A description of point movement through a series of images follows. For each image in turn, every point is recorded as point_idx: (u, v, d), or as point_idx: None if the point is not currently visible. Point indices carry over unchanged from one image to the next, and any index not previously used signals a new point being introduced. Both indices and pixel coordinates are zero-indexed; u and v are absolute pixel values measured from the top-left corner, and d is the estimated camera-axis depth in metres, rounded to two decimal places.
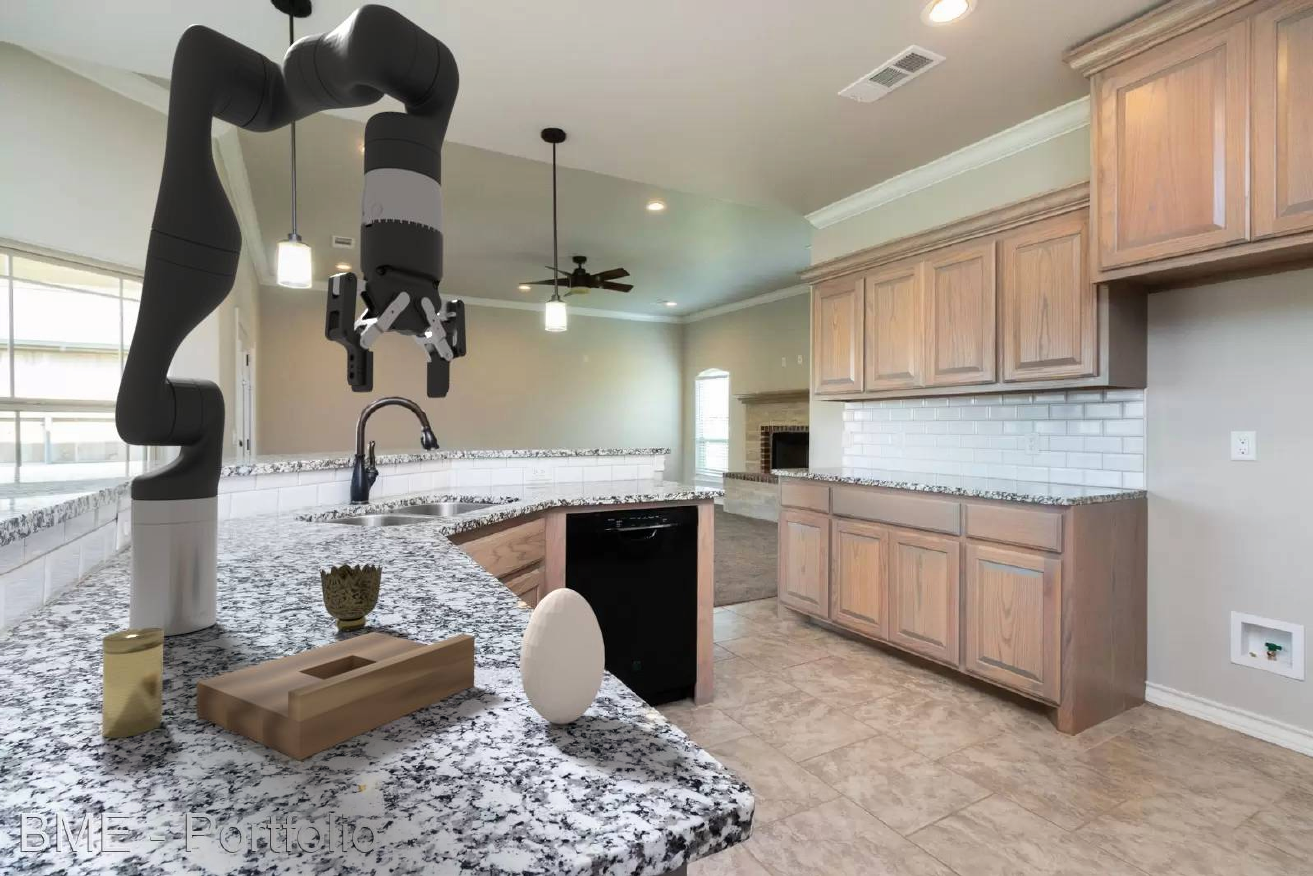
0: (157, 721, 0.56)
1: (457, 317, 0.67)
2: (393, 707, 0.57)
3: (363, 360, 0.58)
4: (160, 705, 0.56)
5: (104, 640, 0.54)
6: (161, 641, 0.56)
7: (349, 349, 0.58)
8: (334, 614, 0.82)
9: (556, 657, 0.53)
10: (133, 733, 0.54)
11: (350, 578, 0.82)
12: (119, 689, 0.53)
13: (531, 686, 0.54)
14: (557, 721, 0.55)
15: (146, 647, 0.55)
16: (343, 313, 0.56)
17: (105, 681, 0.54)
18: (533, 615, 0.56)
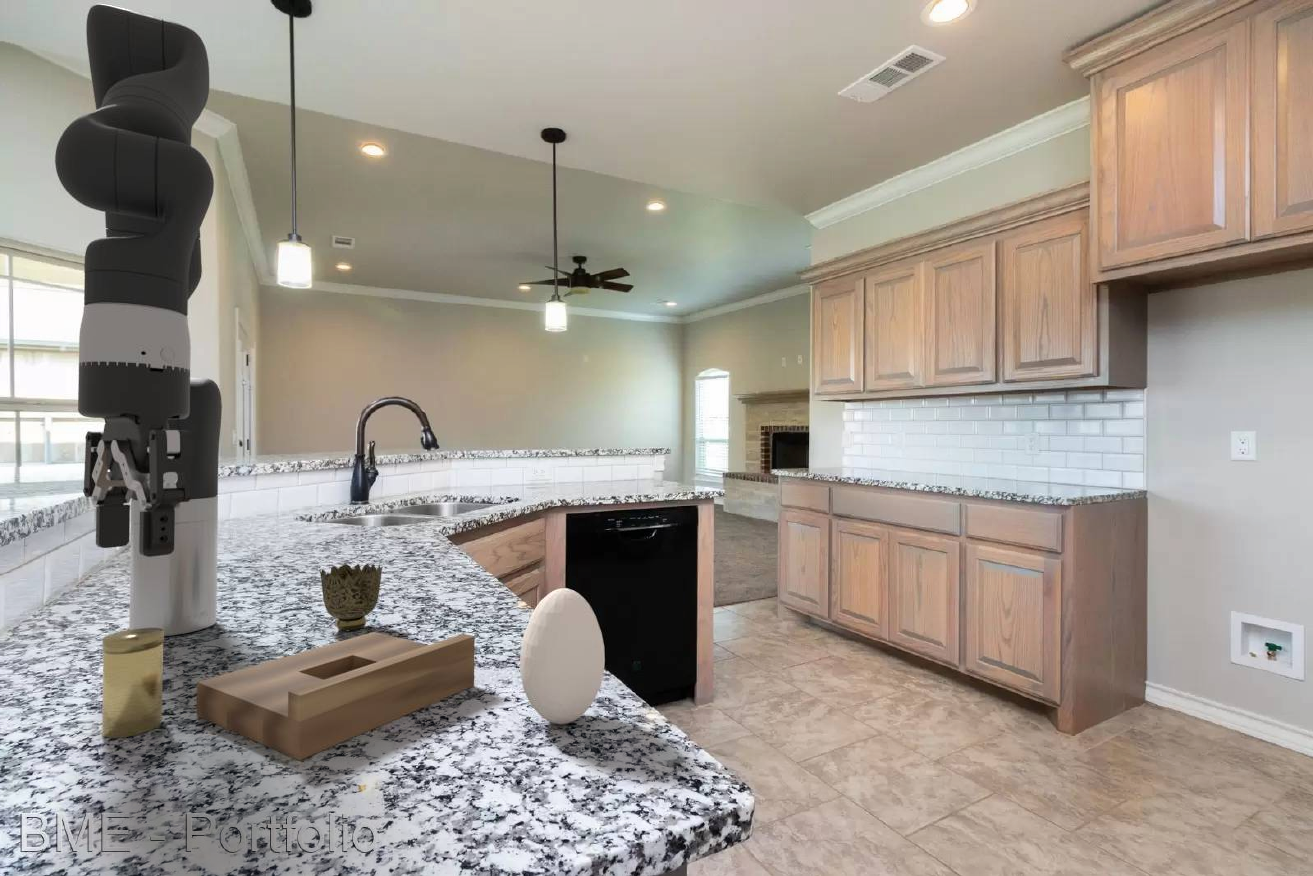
0: (157, 721, 0.56)
1: None
2: (393, 707, 0.57)
3: None
4: (160, 705, 0.56)
5: (104, 640, 0.54)
6: (161, 641, 0.56)
7: (160, 510, 0.53)
8: (334, 614, 0.82)
9: (556, 657, 0.53)
10: (133, 733, 0.54)
11: (350, 578, 0.82)
12: (119, 689, 0.53)
13: (531, 686, 0.54)
14: (557, 721, 0.55)
15: (146, 647, 0.55)
16: (189, 475, 0.53)
17: (105, 681, 0.54)
18: (533, 615, 0.56)
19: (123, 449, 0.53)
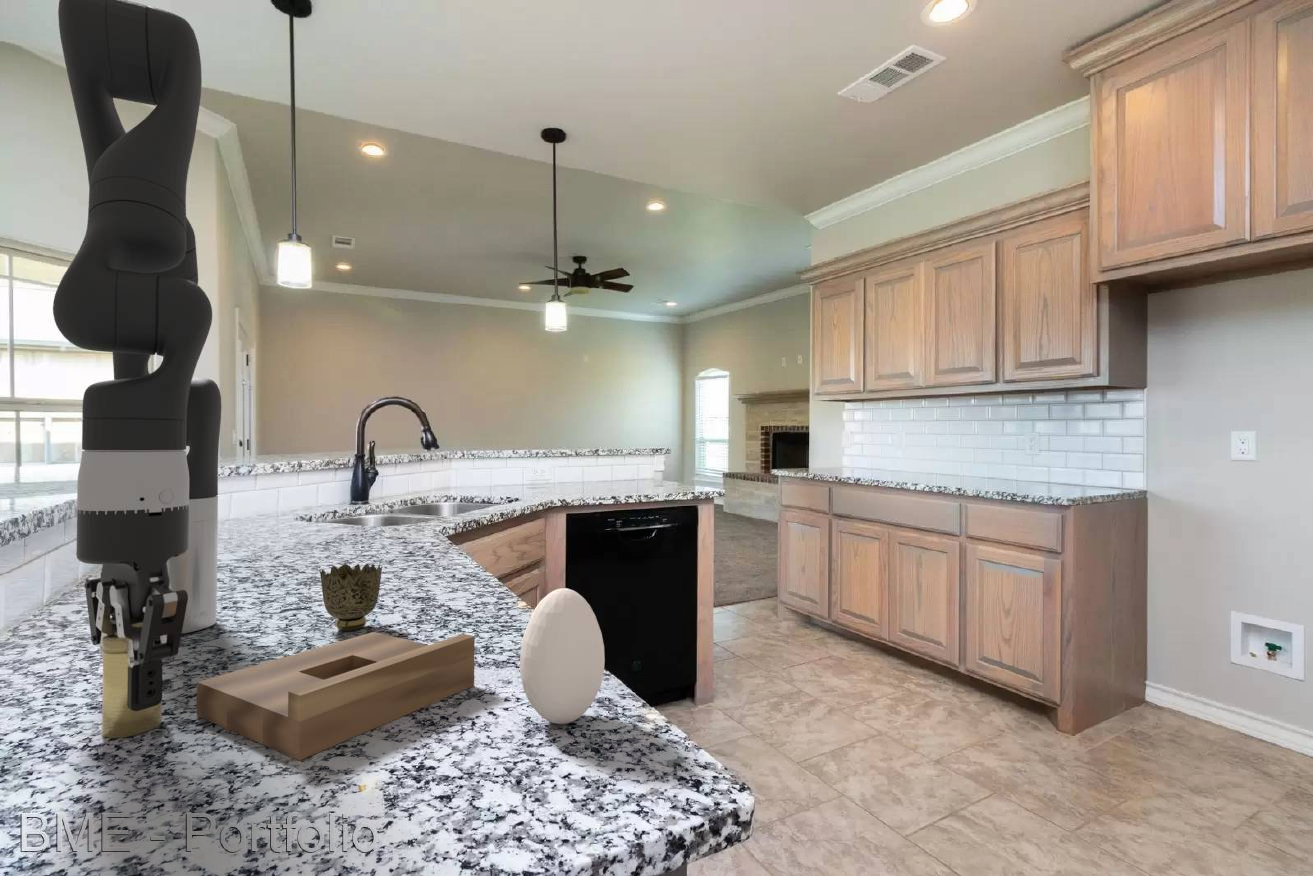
0: (157, 721, 0.56)
1: None
2: (393, 707, 0.57)
3: None
4: (160, 705, 0.56)
5: (104, 640, 0.54)
6: None
7: (148, 665, 0.53)
8: (334, 614, 0.82)
9: (556, 657, 0.53)
10: (133, 733, 0.54)
11: (350, 578, 0.82)
12: (119, 689, 0.53)
13: (531, 686, 0.54)
14: (557, 721, 0.55)
15: None
16: (179, 634, 0.54)
17: (105, 681, 0.54)
18: (533, 615, 0.56)
19: (121, 599, 0.53)
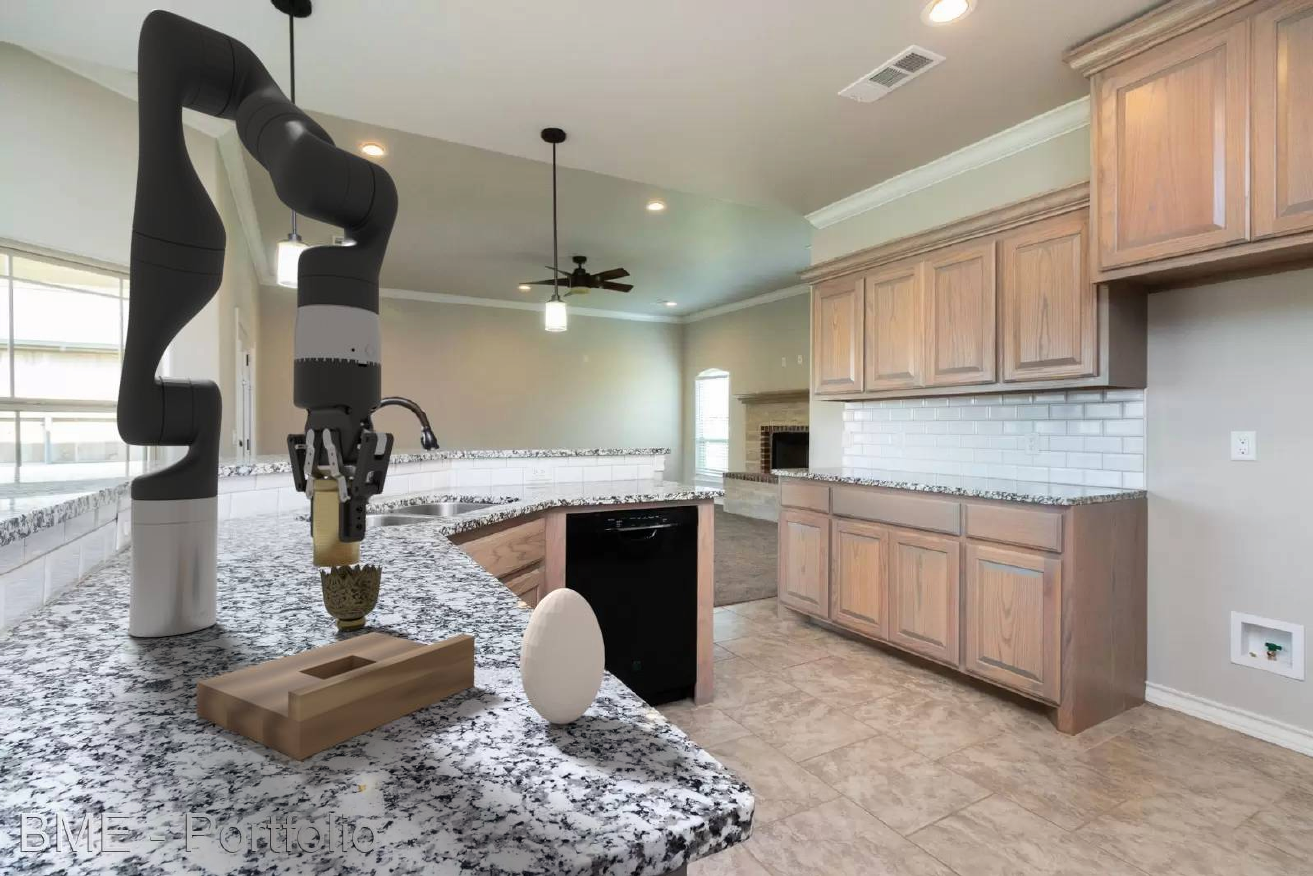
0: (358, 558, 0.61)
1: None
2: (393, 707, 0.57)
3: None
4: (359, 544, 0.62)
5: (316, 479, 0.59)
6: None
7: (357, 501, 0.59)
8: (334, 614, 0.82)
9: (556, 657, 0.53)
10: (342, 564, 0.59)
11: (350, 578, 0.82)
12: (331, 523, 0.59)
13: (531, 686, 0.54)
14: (557, 721, 0.55)
15: None
16: (385, 474, 0.59)
17: (317, 516, 0.59)
18: (533, 615, 0.56)
19: (334, 441, 0.59)
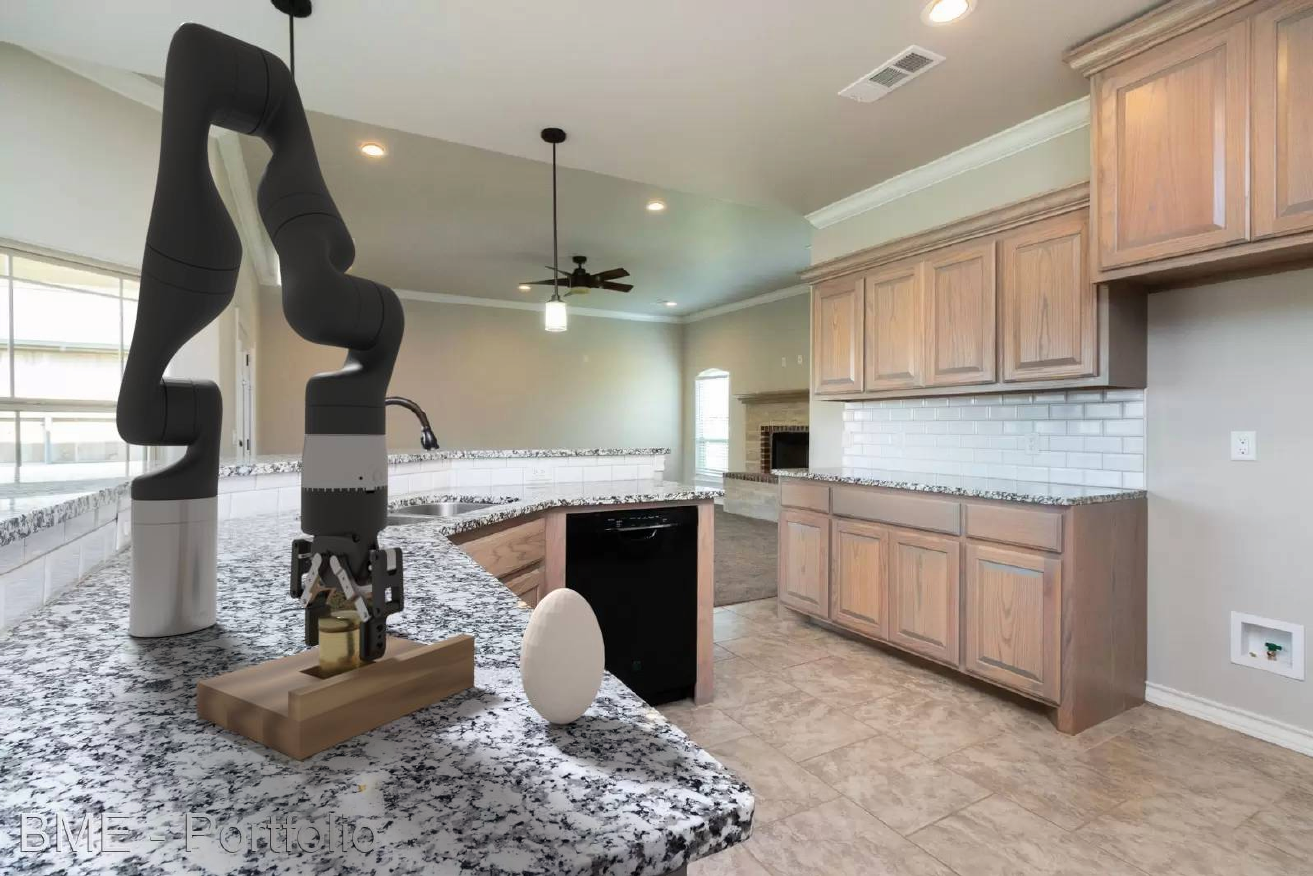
0: None
1: None
2: (393, 707, 0.57)
3: None
4: None
5: (321, 620, 0.60)
6: None
7: (378, 620, 0.59)
8: None
9: (556, 657, 0.53)
10: None
11: None
12: (336, 665, 0.60)
13: (531, 686, 0.54)
14: (557, 721, 0.55)
15: (356, 627, 0.61)
16: None
17: (323, 657, 0.60)
18: (533, 615, 0.56)
19: (343, 564, 0.59)
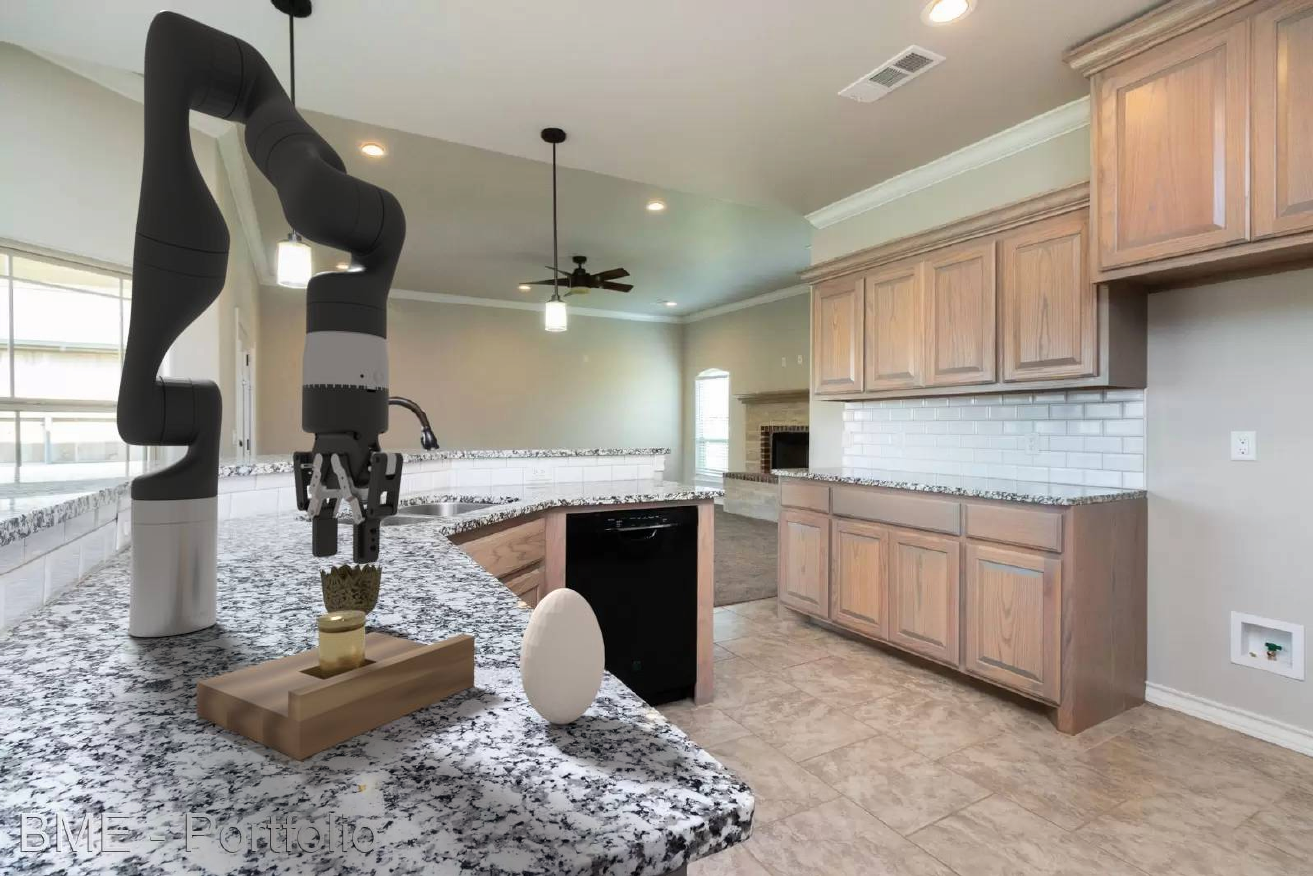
0: None
1: None
2: (393, 707, 0.57)
3: None
4: None
5: (321, 621, 0.60)
6: (365, 622, 0.62)
7: (371, 523, 0.59)
8: None
9: (556, 657, 0.53)
10: None
11: (350, 578, 0.82)
12: (336, 665, 0.60)
13: (531, 686, 0.54)
14: (557, 721, 0.55)
15: (356, 627, 0.61)
16: (397, 494, 0.60)
17: (322, 657, 0.60)
18: (533, 615, 0.56)
19: (343, 464, 0.59)
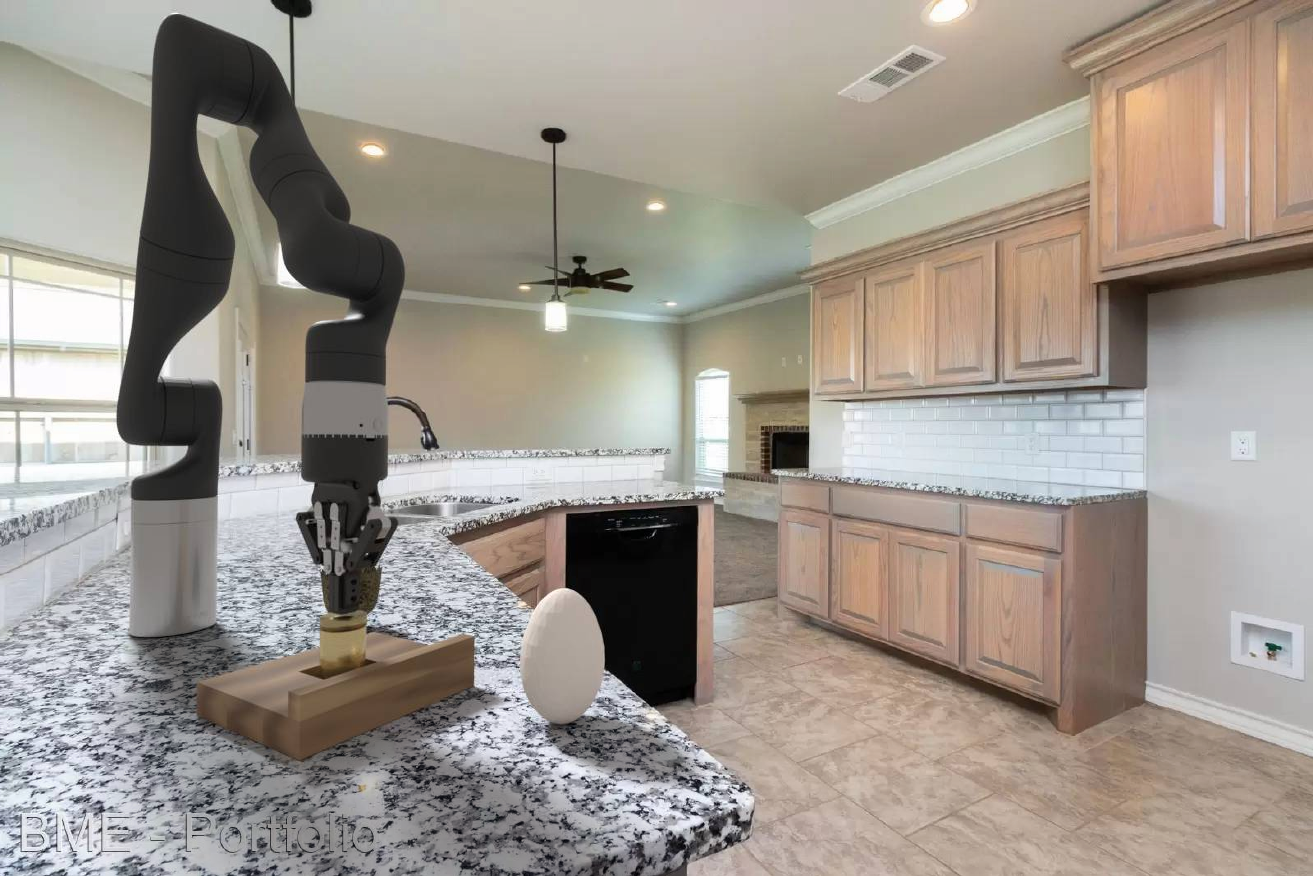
0: None
1: None
2: (393, 707, 0.57)
3: None
4: None
5: (323, 620, 0.60)
6: (366, 622, 0.62)
7: (352, 574, 0.61)
8: None
9: (556, 657, 0.53)
10: None
11: None
12: (337, 664, 0.60)
13: (531, 686, 0.54)
14: (557, 721, 0.55)
15: (357, 627, 0.61)
16: (381, 552, 0.61)
17: (323, 657, 0.60)
18: (533, 615, 0.56)
19: (341, 517, 0.59)
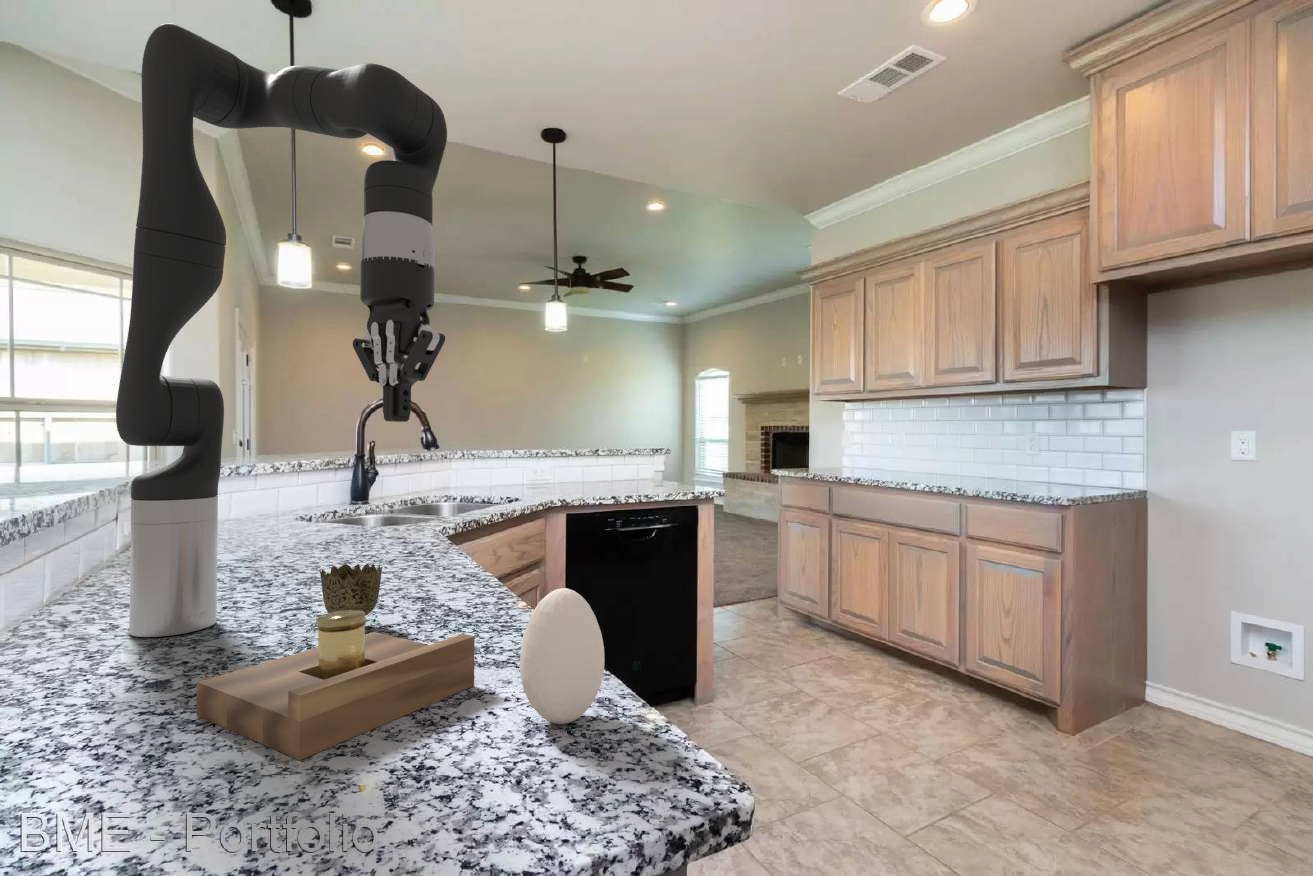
0: None
1: None
2: (393, 707, 0.57)
3: None
4: None
5: (320, 620, 0.60)
6: (364, 621, 0.62)
7: (404, 386, 0.69)
8: None
9: (556, 657, 0.53)
10: None
11: (350, 578, 0.82)
12: (335, 664, 0.60)
13: (531, 686, 0.54)
14: (557, 721, 0.55)
15: (355, 626, 0.61)
16: (430, 366, 0.69)
17: (322, 657, 0.60)
18: (533, 615, 0.56)
19: (395, 332, 0.68)
